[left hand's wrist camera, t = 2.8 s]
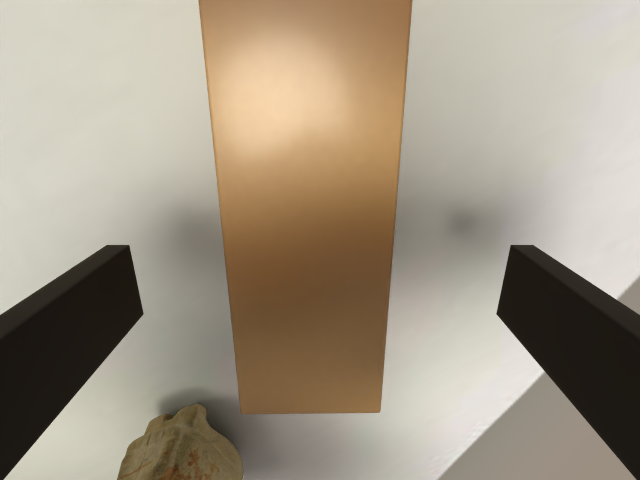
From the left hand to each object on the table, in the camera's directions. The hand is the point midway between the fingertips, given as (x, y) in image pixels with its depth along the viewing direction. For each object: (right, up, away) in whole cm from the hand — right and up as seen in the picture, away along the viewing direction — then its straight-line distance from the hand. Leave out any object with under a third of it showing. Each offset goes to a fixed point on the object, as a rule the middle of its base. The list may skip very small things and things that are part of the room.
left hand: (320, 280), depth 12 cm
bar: (0, +9, +4) cm, 10 cm away
